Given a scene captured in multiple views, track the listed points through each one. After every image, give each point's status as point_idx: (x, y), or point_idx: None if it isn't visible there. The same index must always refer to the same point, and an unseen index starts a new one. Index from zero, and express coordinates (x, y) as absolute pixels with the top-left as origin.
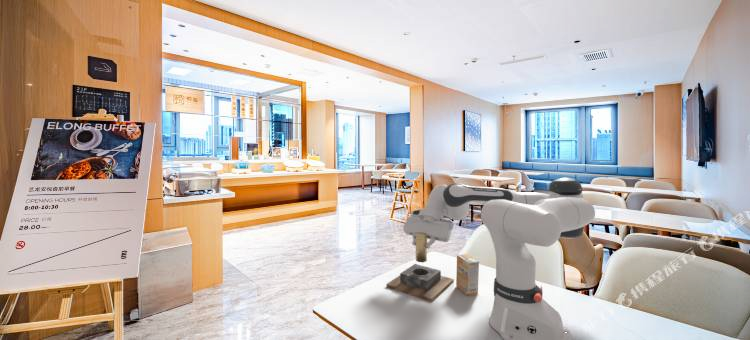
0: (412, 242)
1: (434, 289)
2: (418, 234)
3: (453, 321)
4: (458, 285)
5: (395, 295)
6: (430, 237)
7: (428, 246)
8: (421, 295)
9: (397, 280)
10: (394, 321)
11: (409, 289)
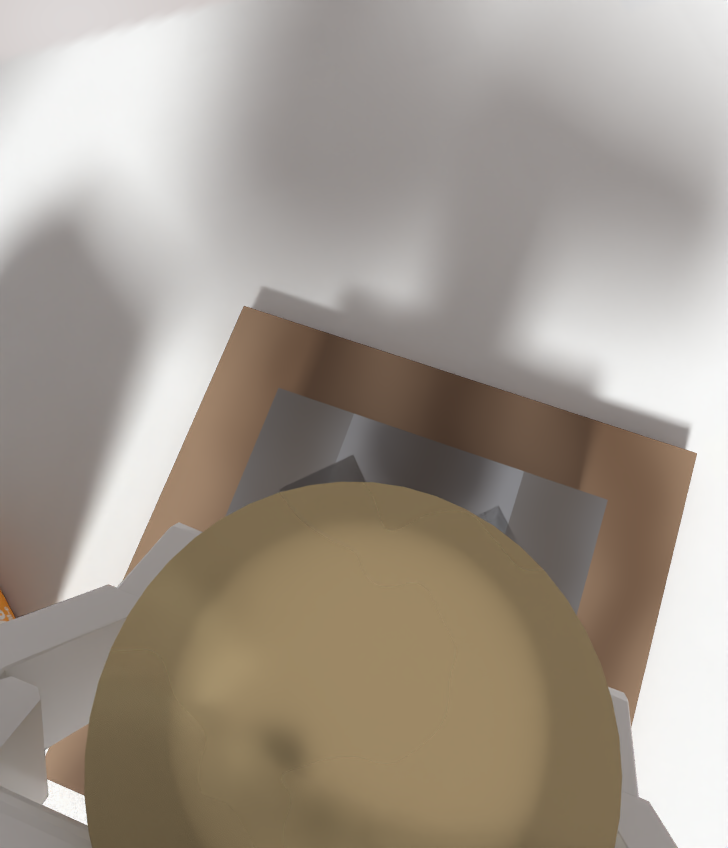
0: (621, 705)
1: (232, 471)
2: (456, 581)
3: (104, 133)
4: (3, 620)
5: (553, 335)
6: (3, 739)
7: (167, 543)
8: (334, 336)
9: (618, 562)
10: (461, 37)
11: (454, 407)
